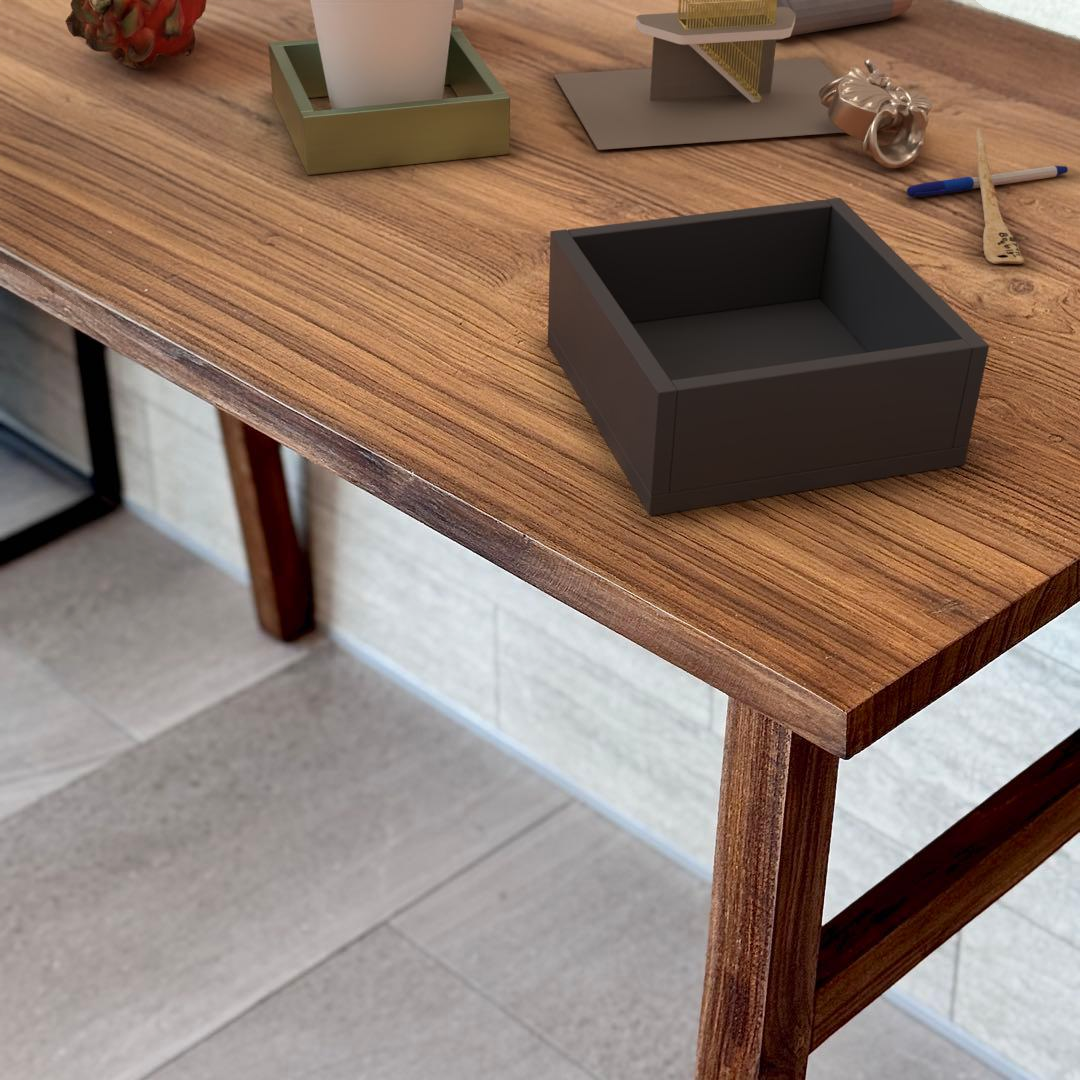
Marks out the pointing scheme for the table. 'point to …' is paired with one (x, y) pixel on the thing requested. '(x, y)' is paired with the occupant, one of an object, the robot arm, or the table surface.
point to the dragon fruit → (136, 28)
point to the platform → (705, 81)
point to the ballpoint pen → (974, 182)
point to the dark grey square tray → (759, 353)
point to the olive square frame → (390, 114)
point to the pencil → (840, 12)
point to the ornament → (878, 113)
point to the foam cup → (383, 49)
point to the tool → (994, 216)
